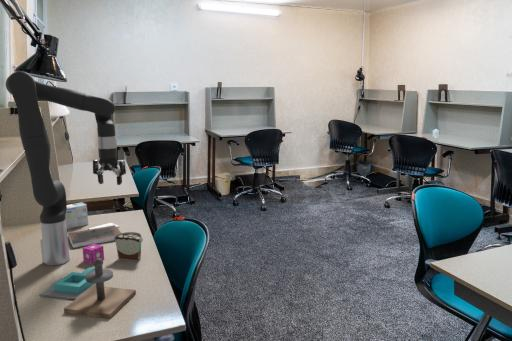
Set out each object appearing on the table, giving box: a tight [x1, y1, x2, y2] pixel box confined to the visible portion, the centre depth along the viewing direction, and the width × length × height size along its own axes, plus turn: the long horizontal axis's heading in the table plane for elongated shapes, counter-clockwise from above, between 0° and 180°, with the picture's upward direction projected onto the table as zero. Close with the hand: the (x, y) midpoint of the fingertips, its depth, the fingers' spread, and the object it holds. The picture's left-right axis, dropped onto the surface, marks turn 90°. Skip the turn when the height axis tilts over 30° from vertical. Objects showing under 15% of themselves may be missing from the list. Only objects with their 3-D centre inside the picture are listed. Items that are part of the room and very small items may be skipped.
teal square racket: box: [53, 266, 95, 294], centre depth 153 cm, size 10×15×2 cm, turn 167°
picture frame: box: [67, 225, 122, 249], centre depth 199 cm, size 16×2×22 cm
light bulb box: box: [66, 201, 89, 230], centre depth 218 cm, size 11×7×11 cm, turn 130°
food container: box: [114, 231, 144, 262], centre depth 176 cm, size 12×6×10 cm, turn 74°
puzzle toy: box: [82, 244, 105, 265], centre depth 174 cm, size 6×6×6 cm
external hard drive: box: [87, 222, 120, 230], centre depth 213 cm, size 2×8×12 cm
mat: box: [38, 281, 96, 301], centre depth 151 cm, size 15×16×1 cm
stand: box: [63, 258, 137, 319], centre depth 138 cm, size 16×16×16 cm
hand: (110, 184), depth 184 cm, fingers open, 8 cm apart
